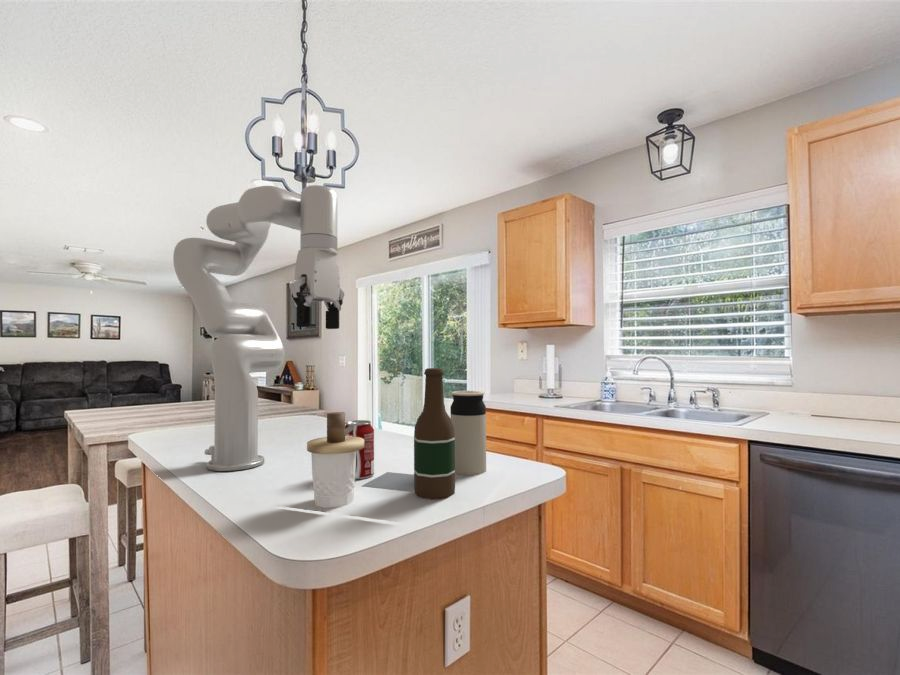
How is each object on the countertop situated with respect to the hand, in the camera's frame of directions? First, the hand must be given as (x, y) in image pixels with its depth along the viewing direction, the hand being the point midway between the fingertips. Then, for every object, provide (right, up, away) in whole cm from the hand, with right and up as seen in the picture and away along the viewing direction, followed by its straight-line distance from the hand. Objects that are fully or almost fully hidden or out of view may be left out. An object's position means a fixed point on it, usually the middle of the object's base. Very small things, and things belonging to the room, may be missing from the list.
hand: (318, 327), depth 96 cm
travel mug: (+32, -33, +7) cm, 46 cm away
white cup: (+7, -32, -14) cm, 36 cm away
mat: (+17, -32, -2) cm, 36 cm away
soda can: (+8, -33, +3) cm, 34 cm away
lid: (+7, -22, -14) cm, 27 cm away
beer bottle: (+25, -32, -10) cm, 42 cm away
